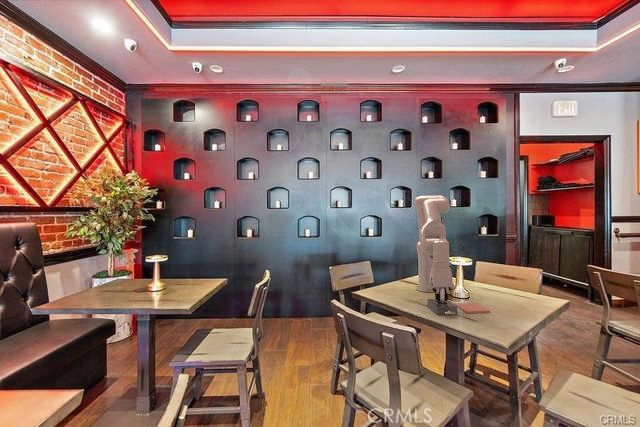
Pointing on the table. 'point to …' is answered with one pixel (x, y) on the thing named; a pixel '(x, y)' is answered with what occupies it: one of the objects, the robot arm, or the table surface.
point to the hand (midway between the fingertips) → (441, 300)
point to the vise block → (442, 307)
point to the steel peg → (442, 295)
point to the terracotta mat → (472, 308)
